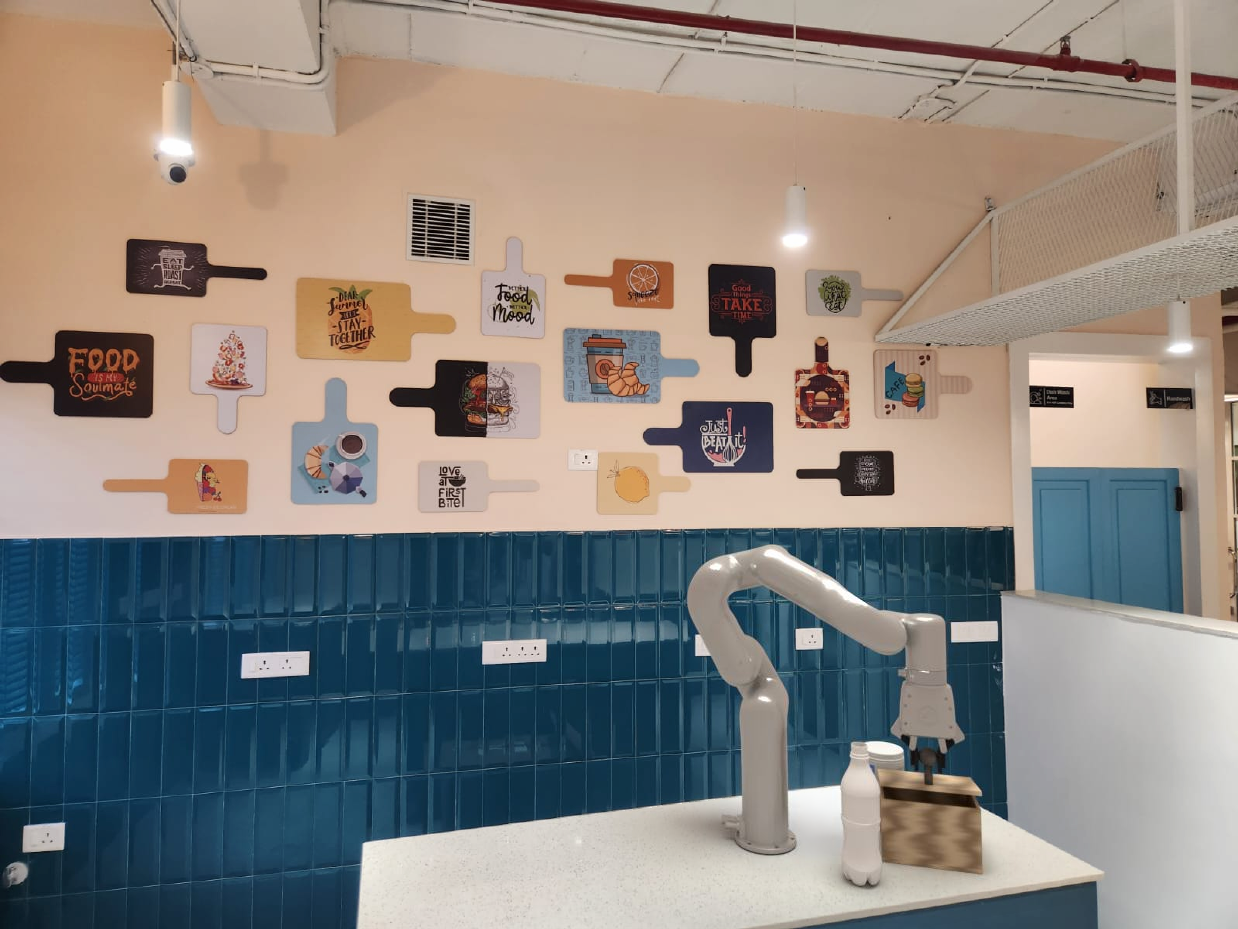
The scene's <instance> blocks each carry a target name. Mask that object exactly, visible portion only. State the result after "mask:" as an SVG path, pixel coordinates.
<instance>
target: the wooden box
mask: <svg viewBox="0 0 1238 929" xmlns="http://www.w3.org/2000/svg"><path fill="white" fill-rule="evenodd" d="M879 788H880V818H881V821H880V826H879V837H880V838H879V839H880V846H881V848H880V849H881V859H882V862H883V863H889V862H890V863H891V864H897V863H900V864H899V865H906V866H913V867H923V868H930V869H937V870H944V869H946V870H945V871H953V872H961V873H969V874H976V873H977V875H983V873H984V871H983V865H984V864H983V836H982V835H983V833H982V828H983V827H982V809H981V806H980V805H979V801H978V799H977V797H976V795H966V794H956V793H946V792H936V791H926V790H916V789H906V788H896V787H886V786H880V783H879Z"/></svg>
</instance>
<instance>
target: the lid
mask: <svg viewBox="0 0 1238 929" xmlns="http://www.w3.org/2000/svg"><path fill="white" fill-rule="evenodd" d="M918 757H919V763H921V764H922V766H923V772H919V771H915V772H914V771H905V770H904V771H896V770H886V769H877V770H878V778H879V783H880V786H886V787H896V788H906V789H916V790H926V791H936V792H946V793H956V794H966V795H975V797H976V796H977V797H982V796H983V792H982V790H981V789H980V788H979V786H978V785H977V784H976V783H975V782H974V780H973V779H972V777H970V776H968V777H967V776H959V775H958V776H957V775H951V774H949V775H948V774H939V773H938V774H935V773H934V772H933V770H934V768H933V766H934V765H937V759H938V758H937V751H936V750H934V749H933V748H932V747H929V746H924V747H921V748H920V749H918Z"/></svg>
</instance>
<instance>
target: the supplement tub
mask: <svg viewBox="0 0 1238 929" xmlns="http://www.w3.org/2000/svg"><path fill="white" fill-rule="evenodd" d="M864 743H866V744H867V746H868V751H867V752H868V755H869V759H868V762H869V766H870V768H871V770H872V772H873V774H874V775H875V778H876V780H877V782H878V784H879V778H878V770H877V769H886V770H896V771H905V752H904V749H903V747H901V746H900V745H897V744H894V743H891V742H886V741H876V740H875V741H873V740H872V741H865V742H864Z"/></svg>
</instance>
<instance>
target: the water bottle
mask: <svg viewBox="0 0 1238 929" xmlns="http://www.w3.org/2000/svg"><path fill="white" fill-rule="evenodd" d="M850 749H851V750H850V754H849V757H850V762H849V765H848V766H847V768H846V771H845V773H844V774H843V777H842V779H841V783H840V788H839V789H840V797H841V799H840V800H841V804H840V805H841V807H840V808H841V810H840V812H841V813H840V820H841V823H842V829H843V830H842V831H843V844H842V845H843V846H842V852H841V868H842V871H843V873H844V876H845V878H846V879H847V880H848V881H852V883H853V884H854V885H856V886H859V887H863V886H865V885H866V883H867V882H868V883H869V885H871V886H875V885H876V884H878V882H879V880H880V878H881V875H882V869H883V867H882V864H883V863H882V862H883V861H882V854H881V852H880V844H879V839H880V838H879V837H880V821H881V818H880V788H879V784H878V782H877V780H876V778H875V775H874V774H873V772H872V770H871V768H870V766H869V762H868V759H869V755H868V752H867V751H868V746H867V744H866V743H865V742H863V741H853V742H851V743H850Z"/></svg>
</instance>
